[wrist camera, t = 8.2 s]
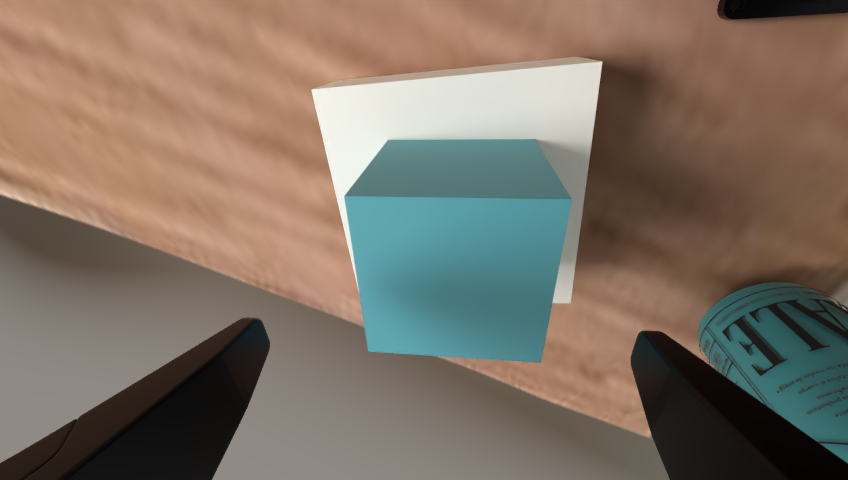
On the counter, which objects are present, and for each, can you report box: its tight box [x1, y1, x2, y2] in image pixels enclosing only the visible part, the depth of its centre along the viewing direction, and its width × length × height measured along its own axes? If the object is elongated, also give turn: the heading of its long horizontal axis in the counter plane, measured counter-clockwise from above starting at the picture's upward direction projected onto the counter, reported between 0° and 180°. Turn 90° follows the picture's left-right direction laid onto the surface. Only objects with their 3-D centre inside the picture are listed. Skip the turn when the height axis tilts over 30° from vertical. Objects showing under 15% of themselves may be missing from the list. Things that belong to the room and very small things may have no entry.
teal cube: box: [344, 139, 572, 363], centre depth 13 cm, size 6×6×6 cm
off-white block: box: [311, 57, 603, 303], centre depth 18 cm, size 11×11×4 cm
